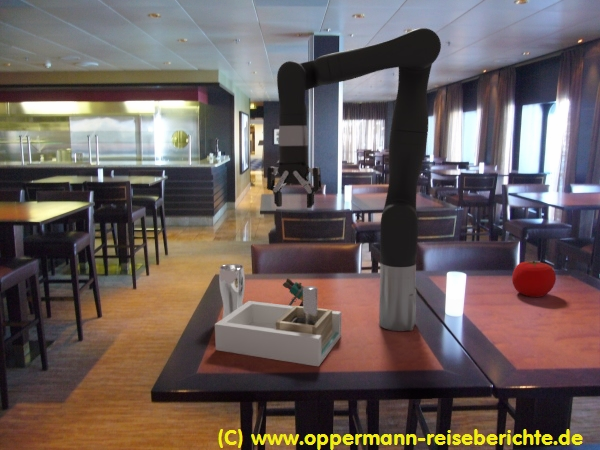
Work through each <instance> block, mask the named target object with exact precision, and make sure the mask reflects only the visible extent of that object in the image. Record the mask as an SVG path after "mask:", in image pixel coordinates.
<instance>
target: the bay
mask: <svg viewBox="0 0 600 450" xmlns="http://www.w3.org/2000/svg"><path fill="white" fill-rule="evenodd" d="M288 305H289V304H288ZM288 305H287V304H278V303H271V302H264V301H263V302H262V301H261V302H260V301H253V300H247V301H246V302H245V303H243V304H242V306H240V307H239V308H238V309H236V310H235V311H233V312H232V313H230V314H229V315H227V316H226V317H225V318H223V317H222V319H220V320H219V321H217V322H216V323H214V337H215V338H214V339H215V340H214V341H215V351H220V352H227V353H231V354H233V353H234V354H239V355H245V356H250V357H251V356H252V357H258V358H264V359H271V360H276V361H282V362H290V363H294V364H300V365H308V366H314V367H319V366H320V365H321V364H322V362H323V361H324V360H325V358H326V357H327V356H328V355H329V353H330V352H331V350H332V349H333V348H334V347H335V345H336V344H337V343H338V341H339V340H340V339H341V337H342V311H337V310H332V334H331V335H330V336H329V338H328V339H327V340H326V341H325V343H324V344H323V345H322V346H321V335H315V334H308V333H300V332H293V331H286V330H279V329H276V321H278V320H279V319H280V318H281V317H282V316H283V315H284V314H286V313H287V312H288V311H289V310H290V309H291V308H292V307H294V306H295V305H291V306H288Z"/></svg>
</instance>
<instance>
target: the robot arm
mask: <svg viewBox="0 0 600 450" xmlns="http://www.w3.org/2000/svg"><path fill="white" fill-rule="evenodd" d="M441 49H442V43H441V40H440V36H439V35H438V34H437V33H436V32H435V31H434V30H432V29H429V28H426V27H418V28H415V29H413V30H411V31H409V32H406V33H404V34H402V35H399V36H397V37H394V38H392V39H388V40H386V41H382V42H378V43H375V44H371V45H367V46H363V47H357V48H353V49H348V50H347V49H346V50H342V51H337V52H333V53H327V54H325V55H321V56H319V57H316V59H313V60H310V61H304V62H298V61H293V60H288V61H286V62H284V63H282V64H281V65H280V66H279V68H278V70H277V75H276V83H277V84H276V85H277V96H278V104H279V109H278V110H279V111H278V122H279V129H278V141H277V144H278V167H276V166H269V167H267V173H266V174H267V175H266V176H267V177H266V189H267V190H268V191H272V192H273V194H274V195H273V197H274V198H273V200H274V202H273V203H274V205H276V207H277V208H280V207H282V205H283V193H282V192H281V191H282V190H283V188H284V187H285V186H286V184H288V185H291V184H294V185H300V184H301V187H303V188H304V189H305V191H306V208H307V209H312V207H313V206H314V205H315V193H316V192H318V191H321V190H322V177H321V175H322V174H321V167H320V166H315V167H309V132H308V119H307V118H308V116H307V115H308V112H307V105H306V91H309V90H312V89H315V88H318V87H321V86H325V85H326V86H329V85H332V84H336V83H341V82H342V83H343V82H345V81H350V80H355V79H357V78H360V77H364V76H366V75H369V74H373V73H376V72H380V71H383V70H388V69H397V68H398V79H397V81H398V83H397V84H398V85H397V93H396V99H395V103H394V108H393V112H392V119H391V127H390V133H389V140H388V141H389V144H388V173H389V175H388V186H387V192H386V193H387V194H386V197H385V198H386V199H385V203H384V207H383V210H382V213H381V216H380V230H379V231H380V235H379V236H380V238H379V239H380V241H379V243H380V245H379V253H380V254H379V255H380V257H379V258H380V262H379V263H380V264H379V265H380V266H379V311H378V312H379V313H378V315H379V316H378V324H379V326H380V327H381V328H383V329H385V330H388V331H392V332H393V331H394V332H404V331H413V330H414V328H415V325H416V320H417V319H416V314H417V310H416V309H417V289H416V277H417V275H416V272H417V270H416V269H417V254H418V237H419V236H418V232H419V229H418V228H419V219H418V214H417V191H418V190H417V189H418V181H419V179H420V178H419V177H420V175H421V171H422V167H423V163H424V159H425V155H426V149H427V142H428V141H427V140H428V133H429V109H428V95H427V94H428V85H429V79H430V74H431V69H432V65H433V63H434V62H435V61H437V59H438V57H439V55H440V52H441ZM309 174H310V175H311V176H312V178H313V179H312V180H313V184H312V183H311V181H310V180H309V178H308V176H309ZM276 175H279V176H280V178H279V179H278V181H277V182H276Z"/></svg>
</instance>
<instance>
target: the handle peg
mask: <svg viewBox="0 0 600 450" xmlns="http://www.w3.org/2000/svg"><path fill="white" fill-rule="evenodd" d="M317 308H318V287H316V286H314V285H313V286H312V285H310V286H309V285H307V286H304V288H303V324H308V325H315V323H316V322H317V321H318V316H317Z"/></svg>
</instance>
